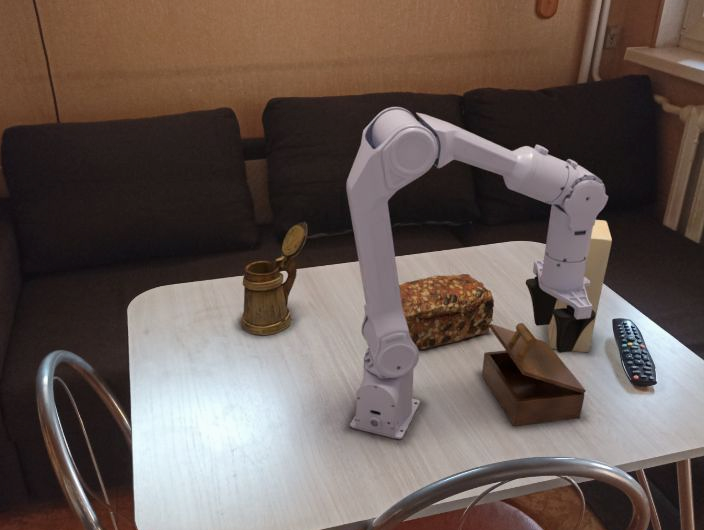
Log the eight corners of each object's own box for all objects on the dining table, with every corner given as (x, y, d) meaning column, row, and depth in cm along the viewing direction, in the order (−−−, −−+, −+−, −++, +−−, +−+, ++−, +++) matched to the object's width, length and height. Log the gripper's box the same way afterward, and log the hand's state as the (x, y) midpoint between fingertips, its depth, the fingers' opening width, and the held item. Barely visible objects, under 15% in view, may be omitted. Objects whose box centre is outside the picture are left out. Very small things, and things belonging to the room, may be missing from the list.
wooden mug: (321, 321, 129) (318, 230, 120) (252, 340, 123) (244, 246, 114) (300, 300, 136) (296, 213, 126) (234, 318, 130) (225, 228, 121)
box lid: (522, 374, 97) (537, 351, 96) (488, 326, 109) (501, 305, 107) (584, 393, 101) (599, 371, 100) (544, 345, 113) (558, 324, 111)
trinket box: (513, 426, 102) (516, 402, 100) (481, 374, 113) (484, 352, 111) (580, 417, 103) (584, 394, 101) (542, 367, 115) (545, 345, 113)
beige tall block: (593, 353, 118) (617, 239, 108) (549, 349, 119) (567, 236, 109) (589, 330, 125) (610, 220, 114) (547, 326, 126) (564, 217, 116)
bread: (399, 358, 118) (400, 306, 113) (372, 328, 126) (373, 279, 121) (493, 335, 124) (499, 285, 119) (462, 308, 132) (466, 260, 127)
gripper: (620, 273, 91) (602, 360, 98) (569, 230, 103) (556, 310, 110) (569, 278, 90) (554, 366, 97) (524, 234, 102) (514, 315, 109)
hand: (552, 337), depth 104 cm, fingers open, 7 cm apart
